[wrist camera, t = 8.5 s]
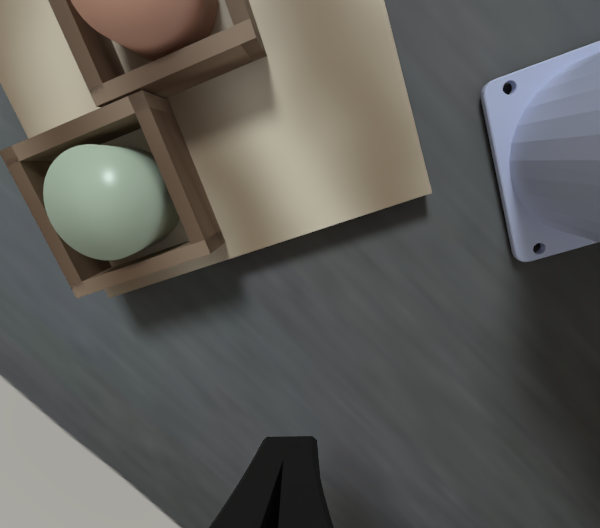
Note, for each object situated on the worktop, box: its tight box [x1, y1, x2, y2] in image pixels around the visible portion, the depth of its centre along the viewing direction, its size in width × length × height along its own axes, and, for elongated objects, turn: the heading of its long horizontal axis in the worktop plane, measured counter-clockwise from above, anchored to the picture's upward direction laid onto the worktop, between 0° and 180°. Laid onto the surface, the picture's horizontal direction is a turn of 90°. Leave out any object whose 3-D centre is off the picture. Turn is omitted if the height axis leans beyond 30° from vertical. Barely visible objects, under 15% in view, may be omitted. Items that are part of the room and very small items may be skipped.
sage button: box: [43, 144, 179, 260], centre depth 15 cm, size 4×4×3 cm
